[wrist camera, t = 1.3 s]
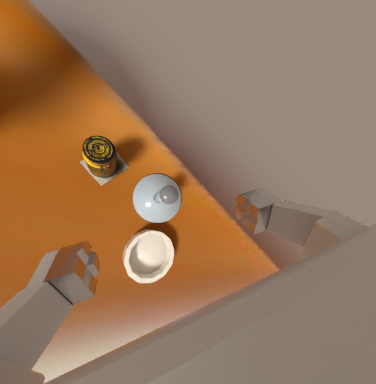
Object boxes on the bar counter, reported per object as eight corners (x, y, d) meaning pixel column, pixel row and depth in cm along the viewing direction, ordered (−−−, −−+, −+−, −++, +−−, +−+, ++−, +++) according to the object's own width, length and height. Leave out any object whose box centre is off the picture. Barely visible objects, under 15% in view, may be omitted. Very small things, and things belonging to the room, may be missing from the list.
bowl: (118, 276, 37) (118, 283, 33) (129, 226, 39) (131, 228, 36) (164, 276, 42) (169, 282, 38) (171, 232, 44) (177, 233, 41)
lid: (127, 218, 39) (131, 220, 31) (138, 168, 42) (146, 157, 34) (175, 225, 45) (191, 228, 37) (183, 181, 48) (199, 174, 39)
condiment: (79, 162, 36) (66, 141, 25) (110, 144, 40) (110, 120, 29) (101, 186, 38) (97, 175, 27) (129, 167, 41) (135, 151, 31)
